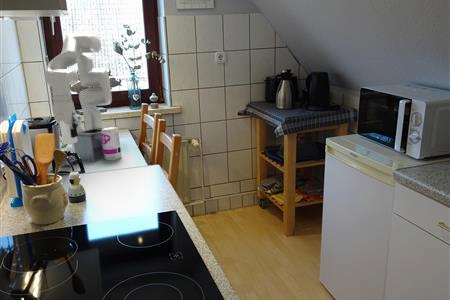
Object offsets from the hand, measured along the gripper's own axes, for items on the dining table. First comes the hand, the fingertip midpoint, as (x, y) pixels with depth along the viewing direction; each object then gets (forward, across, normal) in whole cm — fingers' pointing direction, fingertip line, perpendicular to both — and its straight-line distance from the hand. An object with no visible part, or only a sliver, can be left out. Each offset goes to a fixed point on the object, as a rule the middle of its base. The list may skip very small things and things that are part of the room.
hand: (69, 136), depth 186 cm
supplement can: (+14, +12, +14) cm, 23 cm away
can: (+4, 0, 0) cm, 4 cm away
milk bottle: (+15, -11, +16) cm, 24 cm away
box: (+14, +1, +15) cm, 20 cm away
